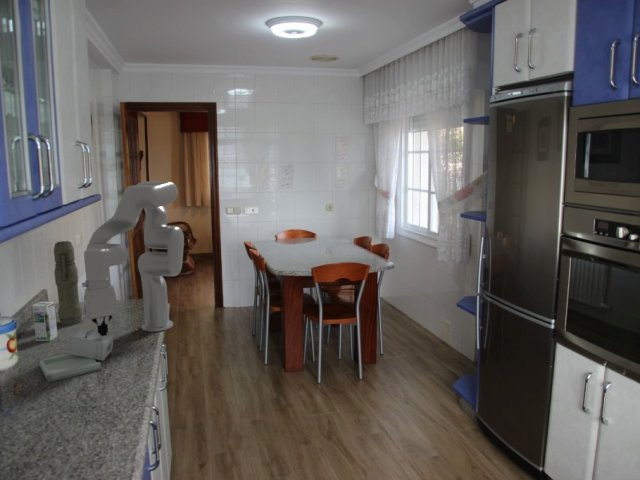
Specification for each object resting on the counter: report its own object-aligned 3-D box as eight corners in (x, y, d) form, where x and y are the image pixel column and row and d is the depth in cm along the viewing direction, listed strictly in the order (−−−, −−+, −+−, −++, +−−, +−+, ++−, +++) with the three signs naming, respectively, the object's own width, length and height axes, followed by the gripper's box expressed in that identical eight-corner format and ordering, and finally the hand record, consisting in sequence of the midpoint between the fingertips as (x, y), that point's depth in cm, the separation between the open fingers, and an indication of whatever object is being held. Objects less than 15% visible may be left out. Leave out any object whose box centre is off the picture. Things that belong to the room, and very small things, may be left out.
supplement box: (105, 343, 178) (68, 336, 178) (103, 361, 181) (67, 354, 180) (114, 332, 185) (78, 325, 185) (112, 350, 188) (77, 343, 187)
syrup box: (35, 341, 200) (31, 305, 198) (44, 336, 206) (40, 301, 204) (49, 341, 200) (45, 305, 197) (58, 336, 206) (54, 301, 203)
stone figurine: (81, 316, 230) (74, 239, 224) (82, 324, 219) (75, 243, 213) (59, 319, 226) (51, 240, 220) (59, 327, 216) (50, 245, 210)
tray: (39, 366, 177) (38, 360, 176) (89, 354, 186) (88, 349, 186) (48, 382, 164) (47, 376, 164) (101, 369, 174) (100, 363, 173)
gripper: (77, 289, 170) (82, 342, 173) (124, 282, 179) (128, 333, 182) (72, 285, 176) (77, 336, 179) (117, 278, 185) (122, 327, 188)
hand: (103, 334), depth 180 cm, fingers closed
